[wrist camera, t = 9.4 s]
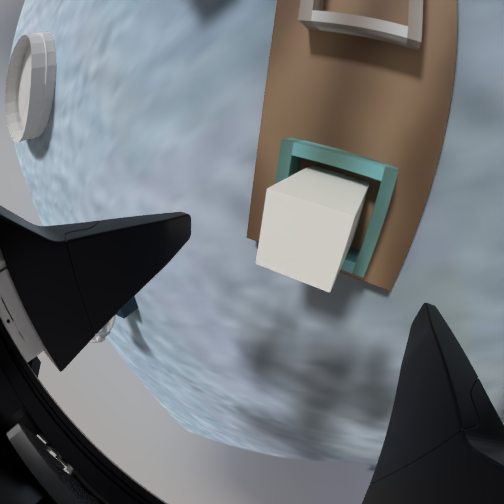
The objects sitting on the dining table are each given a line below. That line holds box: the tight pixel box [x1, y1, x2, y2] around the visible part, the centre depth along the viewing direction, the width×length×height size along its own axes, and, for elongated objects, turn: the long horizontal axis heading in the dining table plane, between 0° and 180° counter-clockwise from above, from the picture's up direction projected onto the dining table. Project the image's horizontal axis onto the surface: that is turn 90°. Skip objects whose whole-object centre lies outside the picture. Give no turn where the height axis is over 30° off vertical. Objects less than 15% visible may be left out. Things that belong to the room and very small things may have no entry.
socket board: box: [247, 0, 458, 291], centre depth 14 cm, size 12×25×4 cm, turn 173°
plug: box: [256, 165, 370, 293], centre depth 15 cm, size 4×4×7 cm
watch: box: [90, 297, 138, 343], centre depth 36 cm, size 6×8×11 cm
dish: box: [5, 32, 57, 142], centre depth 31 cm, size 22×22×5 cm
